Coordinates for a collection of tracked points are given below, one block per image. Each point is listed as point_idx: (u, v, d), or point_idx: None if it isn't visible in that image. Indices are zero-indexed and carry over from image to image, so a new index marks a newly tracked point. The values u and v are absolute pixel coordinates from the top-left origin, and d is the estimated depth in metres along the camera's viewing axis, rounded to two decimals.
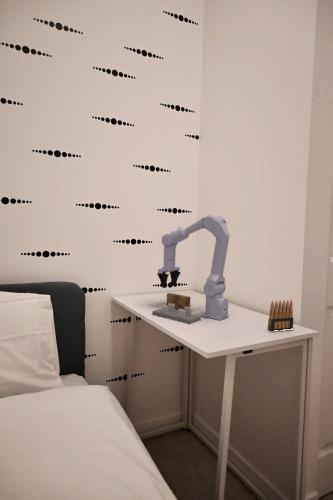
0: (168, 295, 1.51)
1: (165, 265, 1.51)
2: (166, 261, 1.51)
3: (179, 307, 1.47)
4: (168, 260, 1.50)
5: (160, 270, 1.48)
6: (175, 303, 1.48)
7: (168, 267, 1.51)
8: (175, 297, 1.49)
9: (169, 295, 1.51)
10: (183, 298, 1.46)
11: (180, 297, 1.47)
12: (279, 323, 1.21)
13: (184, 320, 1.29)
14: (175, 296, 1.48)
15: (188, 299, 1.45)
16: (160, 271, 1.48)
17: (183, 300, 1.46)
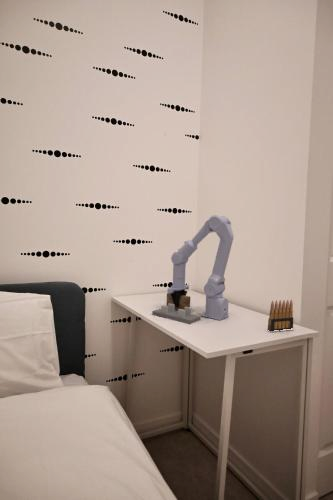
0: (168, 295, 1.51)
1: (174, 284, 1.46)
2: (176, 280, 1.46)
3: (179, 307, 1.47)
4: (178, 279, 1.45)
5: (170, 290, 1.43)
6: None
7: (178, 286, 1.46)
8: None
9: (169, 295, 1.51)
10: (183, 298, 1.46)
11: (180, 297, 1.47)
12: (279, 323, 1.21)
13: (184, 320, 1.29)
14: None
15: (188, 299, 1.45)
16: (170, 291, 1.43)
17: (183, 300, 1.46)
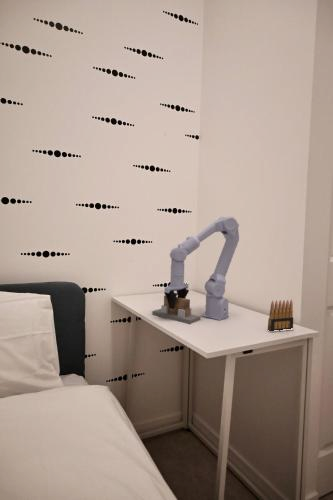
0: (165, 297, 1.38)
1: (172, 283, 1.33)
2: (174, 278, 1.33)
3: (177, 311, 1.34)
4: (176, 277, 1.32)
5: (167, 289, 1.29)
6: None
7: (176, 285, 1.33)
8: None
9: None
10: (182, 301, 1.32)
11: (179, 300, 1.33)
12: (279, 323, 1.21)
13: (184, 320, 1.29)
14: None
15: (187, 302, 1.32)
16: (167, 290, 1.29)
17: (181, 303, 1.33)
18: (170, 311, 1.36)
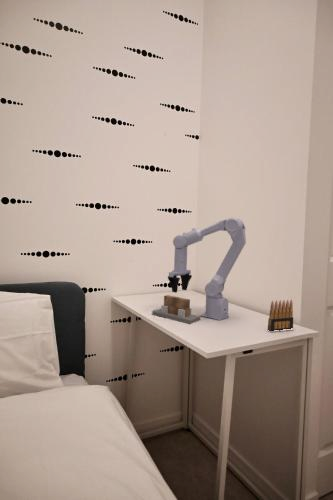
0: (165, 297, 1.38)
1: (176, 268, 1.43)
2: (177, 264, 1.43)
3: (177, 311, 1.34)
4: (179, 263, 1.42)
5: (171, 274, 1.39)
6: (173, 306, 1.35)
7: (179, 270, 1.42)
8: (173, 300, 1.35)
9: (167, 297, 1.37)
10: (182, 301, 1.32)
11: (179, 300, 1.33)
12: (279, 323, 1.21)
13: (184, 320, 1.29)
14: (173, 299, 1.35)
15: (187, 302, 1.32)
16: (171, 275, 1.39)
17: (181, 303, 1.33)
18: (170, 311, 1.36)
